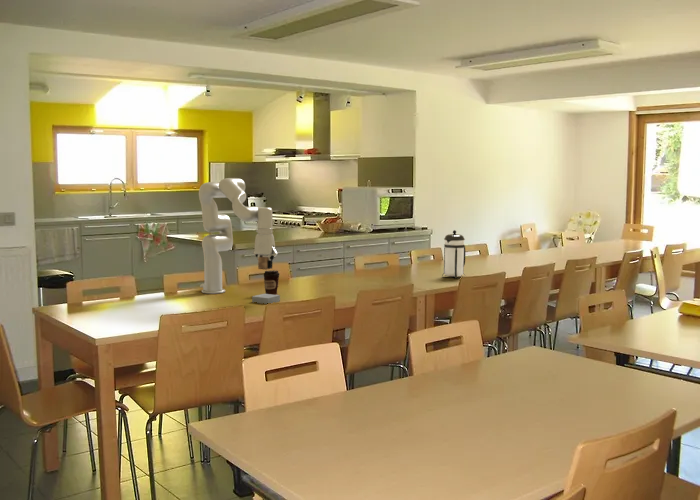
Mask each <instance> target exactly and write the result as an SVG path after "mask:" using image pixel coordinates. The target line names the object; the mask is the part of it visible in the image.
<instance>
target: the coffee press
mask: <svg viewBox="0 0 700 500" xmlns="http://www.w3.org/2000/svg"><path fill="white" fill-rule="evenodd" d="M443 239H444V244H443V245H444V246H443V248H444V249H443V251H444V252H443V273H442V274H441V277H444V276H445V277H447V276H448V277H453V278H454V277H455V278H457V279H458V277H462V276H463V275H465V273H464V271H465V270H464V269H465V268H464V267H465V265H466V245H465V240H466V239H465V237H464V236H463V234H459V233H458V234H457V230H455V229H454V230H453V231H452V233H449V234H446V235H445V237H444V238H443ZM455 278H454V279H455Z"/></svg>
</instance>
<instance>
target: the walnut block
mask: <svg viewBox="0 0 700 500" xmlns="http://www.w3.org/2000/svg"><path fill="white" fill-rule="evenodd" d="M257 260H258V262H257V263H258V264H257V265H258V268H257V269H258V270H265V271H268V270H271V269H272V270H273V267H272V268H268V256H266V255H263V257H258V259H257Z"/></svg>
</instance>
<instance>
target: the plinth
mask: <svg viewBox="0 0 700 500" xmlns="http://www.w3.org/2000/svg"><path fill="white" fill-rule="evenodd" d="M251 300H252V301H251V303H254V302H257V303H256V304H263V303H264V304H265V305H268V304H267V303H271V304H274V303H273V302H275V303H278V302H280V301H281V295H279V294H278V295H272V294H265V293H260V294H256V295H252V297H251Z"/></svg>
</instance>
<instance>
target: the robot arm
mask: <svg viewBox="0 0 700 500" xmlns="http://www.w3.org/2000/svg"><path fill="white" fill-rule="evenodd" d="M198 198H199V202H200V206H201V215H202V216H201V217H202V226H203V230H204V231H206V232H208V233H211V234H207V235H205V236H203V238H202V241H201V246H202V251H203V265H204V266H203V267H204V268H203V269H204V273H203V274H204V275H203V279H204V283H201V284H199V287H200V288H202V289H201V293H203V294H208V295H210V294H211V295H212V294H213V295H214V294H222V293H225V292H226V289H225V288H223V260H222V257H221V254H220V253H219V252H227V251H230V250H231V249H232V248H233V246H234V245H233V244H234V238H233V237H234V236H233V225H232V220H231V218H230V216H229V215H227V214H224V213H219V209H218V205H217V203H216V201H215V199H216V198H217V199H218V198H219V199H221V198H224V199H225V198H227V199H228V200H229V201H230V202H231V203H232V204H231V206H232V211H233V213H234V215H235V216H236V217H237V218H238V219H240V220H241V221H243V222H244V223H246V222H247V223H248V222H257V228H256V230H255V232H256V233H257V234H255V238H254V239H255V240H254V250H253V252H252V253H253V254H254V256H255V257H256V259H257V260H258V257H263V256H266V255H267V256H268V268H272V269H273V261H274V259H275V258H276V257H277V256H278V254H279V253H278V252H277V250H276V242H275V240H276V239H275V237H274V234H273V209H272V207H268V206H267V207H263V206H258V205H257V206H246V205H244V203H245V201H246V200H247V193H246V183H245V181H244V180H243V179H241V178H240V177H239V178H238V177H227V178H222V179H221V180H220V181H208V182H204V183H202V184H201V185H200V187H199V190H198ZM215 232H218V233H215ZM212 233H214V234H212Z"/></svg>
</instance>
